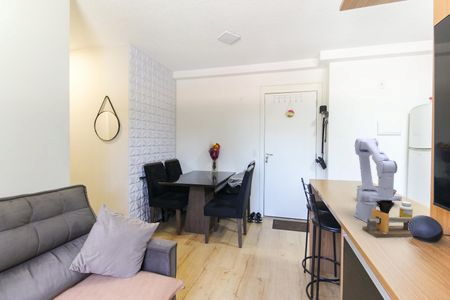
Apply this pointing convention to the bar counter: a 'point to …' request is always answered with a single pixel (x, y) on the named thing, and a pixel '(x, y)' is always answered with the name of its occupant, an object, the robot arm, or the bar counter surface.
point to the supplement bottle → (406, 210)
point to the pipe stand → (392, 230)
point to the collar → (384, 220)
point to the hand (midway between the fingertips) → (384, 216)
